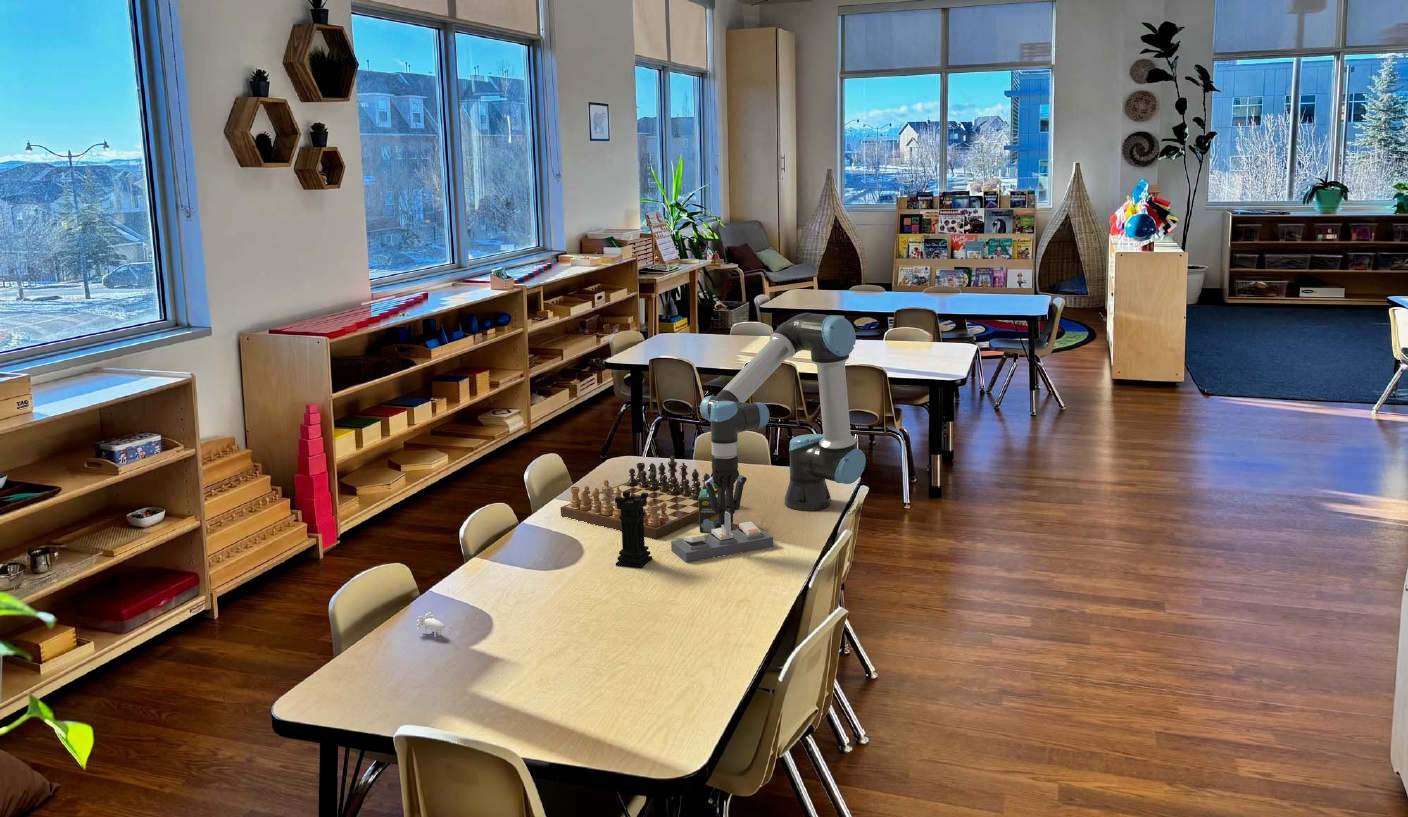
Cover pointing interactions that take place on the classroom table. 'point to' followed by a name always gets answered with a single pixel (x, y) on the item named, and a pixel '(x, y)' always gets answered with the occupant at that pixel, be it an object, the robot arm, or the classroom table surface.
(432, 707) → the classroom table surface
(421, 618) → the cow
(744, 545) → the rocker switch panel
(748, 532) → the rocker
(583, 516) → the chess set
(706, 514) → the chalk box
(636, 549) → the chess piece
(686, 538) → the rocker
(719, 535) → the middle rocker
